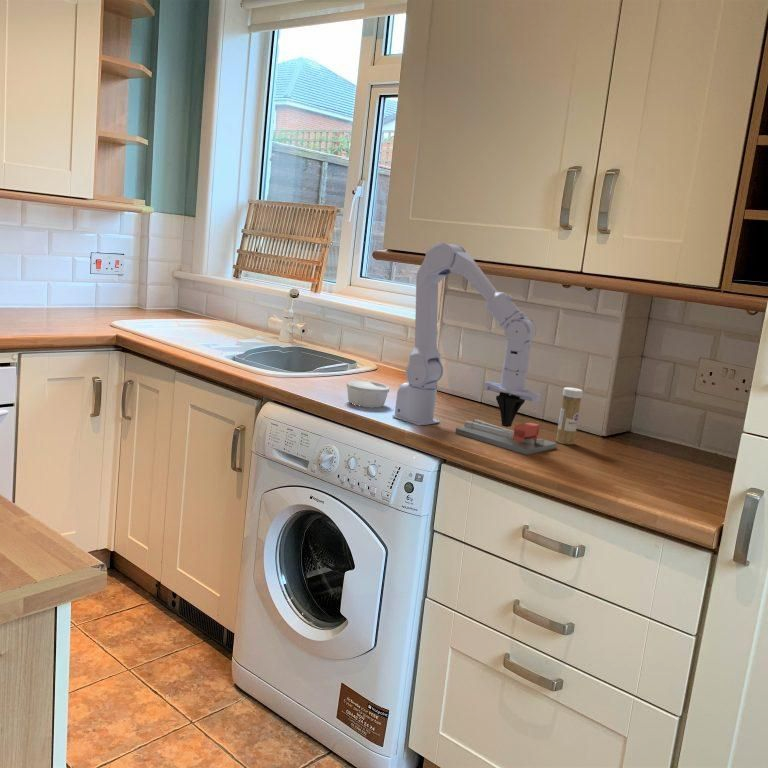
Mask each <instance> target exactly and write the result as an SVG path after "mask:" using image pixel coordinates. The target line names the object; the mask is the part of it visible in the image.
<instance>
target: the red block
mask: <svg viewBox="0 0 768 768" xmlns="http://www.w3.org/2000/svg"><path fill="white" fill-rule="evenodd" d="M513 428H514V429H513V431H514V435H513V440H515V441H518V442H521V443H522V442H524V437H529V436H530V437H533V438H539V437H538V436H539V431H540V424H538V423H534V422H526V423H520V424H514V427H513Z"/></svg>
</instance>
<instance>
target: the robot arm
mask: <svg viewBox="0 0 768 768" xmlns="http://www.w3.org/2000/svg"><path fill="white" fill-rule="evenodd" d="M451 273H453V274H457V275H460V276H463V277H464V278H465V279H466V280H467V281H468V282H469V283H470V284H471V285H472V286H473V287H474V288H475V289H476V290H477V292H478V293H479V294H480V295H481V297H483V298H484V299H485V300H486V302H485V304H486V305H485V307H486V308H485V309H486V310H487V311H488V313H490V315H491V316H492V317H493V318H494V320H495V321H496V322H497V324H498V325H499V326H500V328H501V329H503V331H504V337H505V339H506V345H505V346H506V347H505V350H504V352H505V353H504V357H503V365H502V371H501V376H500V377H501V378H500V383H498V382H494V381H484V385H483V390H485V391H490V392H494V393H497V394H498V395H496V397H495V401H496V402H497V405H498V408H499V412H500V419H501V420H500V421H501V426H502V427H504V428H507V427H508V428H509V427H512V425H513V422H514V419H515V417H516V415H517V413H518V412H519V410H520V409H521V408H522V406H523V404H524V403H525V401H528V402H531V403H534V404H538V403H540V402H541V396H542V395H541V393H537V392H534V391H531V390H528V389H526V381H527V375H528V369H529V364H530V363H529V362H530V357H531V346H532V340H534V338H535V337H536V335H537V327H536V324H535V322H534V320H533V319H532V318H529V317H526V316H527V314H526V312H525V311H521V310H520V308H519V307H518V306H517V305H516V303H515V302H513V300H514V297H513V296H512V295H511V294H507V293H506V292H503V291H498V290H497V289H496V287H495V286H494V285H493V283H491V281H490V279H489V278H488V277H487V275H486V274H485V273H484V271H482V269H481V268H480V266H479V265H478V264H477V262H476V260H474V258H473V256H472V255H471V254H470V253H469V252H467V251H466V249H465V248H464V247H463V246H462V245H460V244H457V243H453V244H450V243H446V242H438V243H435V244H434V245H433V246H431V247H430V248H429V249H427V250H426V251H425V257H424V259H423V261H422V263H421V265H420V266H419V268H418V270H417V273H416V277H415V278H416V283H415V288H416V289H415V322H414V323H415V327H414V328H415V329H414V347H413V350H412V351H411V353H410V354H409V361H408V364H407V367H406V368H405V378H406V380H407V382H403V383H402V384H401V385H400V386H399V387H398V389H397V394H396V401H395V407H394V414H392V415H391V416H392V417H393V418H395V419H399V420H401V421H405V422H408V423H410V424H415V425H418V426H426V425H433V424H440V423H441V420H438V419H436V418H434V414H435V409H436V401H437V392H438V381H440V380H441V379H442V377H443V374H444V366H443V364H442V361H441V353H440V351H439V349H438V346H437V345H438V344H437V342H438V341H437V339H438V338H437V337H438V303H439V298H438V297H439V283H440V282H441V281H442V280H443V279H445V278H446V277H447V276H448V275H450V274H451Z"/></svg>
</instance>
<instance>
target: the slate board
mask: <svg viewBox="0 0 768 768" xmlns="http://www.w3.org/2000/svg"><path fill="white" fill-rule="evenodd" d="M504 428H505V429H508V428H507V427H504ZM508 430H511V431H514V429H513V430H512V429H508ZM455 434H457V435H461V436H463V437H467V438H470V439H473V440H477V441H480V442H483V443H487V444H489V445H492V446H493V445H494V446H497V447H500V448H503V449H505V450H509V451H513V452H514V453H518V454H522V455H525V456H528V455H532V454H537V453H541V452H545V451H549V450H554V449H557V446H558V445H557V444H558V442H553V441H551V440H548V439H544V446H543V447H539V446H535V445H532V444H529V443H525V442H522V443H521V442H518V441H515V440H513V439H511V438H507V437H503V436H500V435H496V434H492V433H489V432H485V431H481V430H478V429H474V428H469V427H465V426H460V427H456V428H455Z"/></svg>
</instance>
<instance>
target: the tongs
mask: <svg viewBox="0 0 768 768" xmlns="http://www.w3.org/2000/svg"><path fill="white" fill-rule="evenodd" d="M463 424H464V426H463V427H469V428H474V429H478V430H481V431H485V432H489V433H492V434H496V435H500V436H503V437H507V438H511V439H513V435H514V430H513V431H511V430H512V429H509V430H508V428H506V427H503V426H502V427H501V426H499V425H495V424H491V423H489V422H486V421H484V420H481V419H473V420H472V421H470V420H464V423H463ZM505 428H506V429H505ZM544 440H545V439H544V438H541V437H538V438H533V437H530V436H529V437H524V442H525V443H529V444H532V445H535V446H539V447H543V446H544Z"/></svg>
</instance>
